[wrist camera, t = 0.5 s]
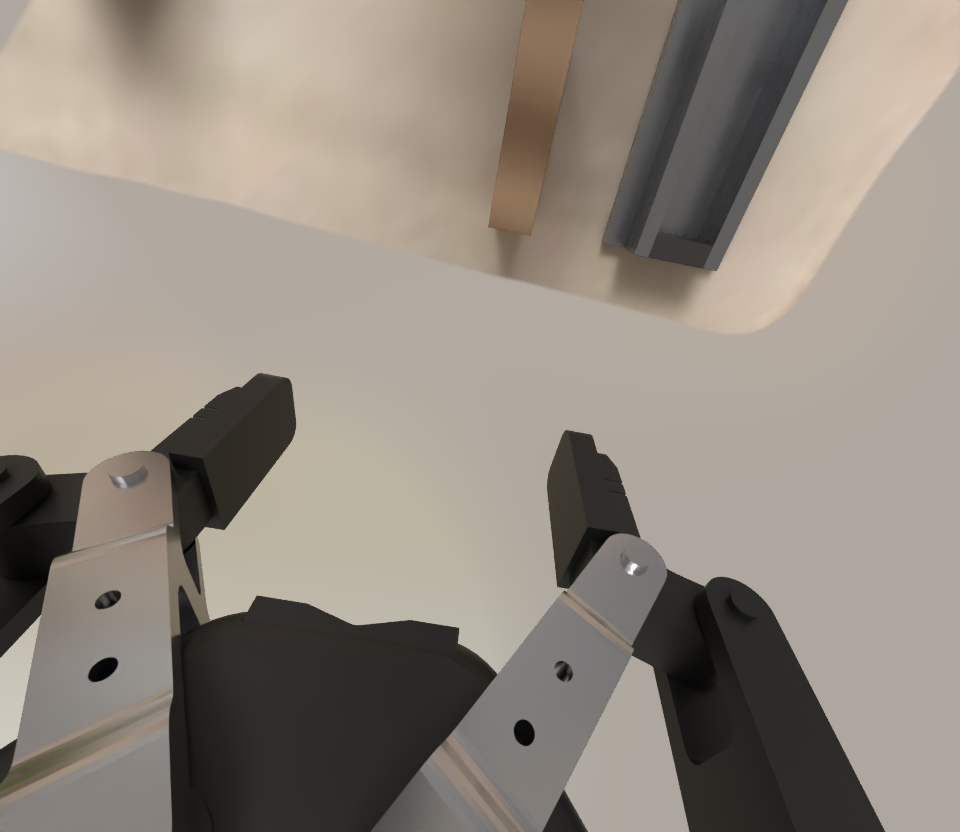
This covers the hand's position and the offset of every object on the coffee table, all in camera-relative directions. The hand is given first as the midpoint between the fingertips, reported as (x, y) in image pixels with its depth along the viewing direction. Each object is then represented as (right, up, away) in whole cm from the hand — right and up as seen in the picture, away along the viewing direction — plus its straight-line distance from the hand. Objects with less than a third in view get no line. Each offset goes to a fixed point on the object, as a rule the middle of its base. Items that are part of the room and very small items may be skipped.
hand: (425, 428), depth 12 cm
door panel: (+5, +20, +16) cm, 26 cm away
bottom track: (+17, +22, +14) cm, 31 cm away
